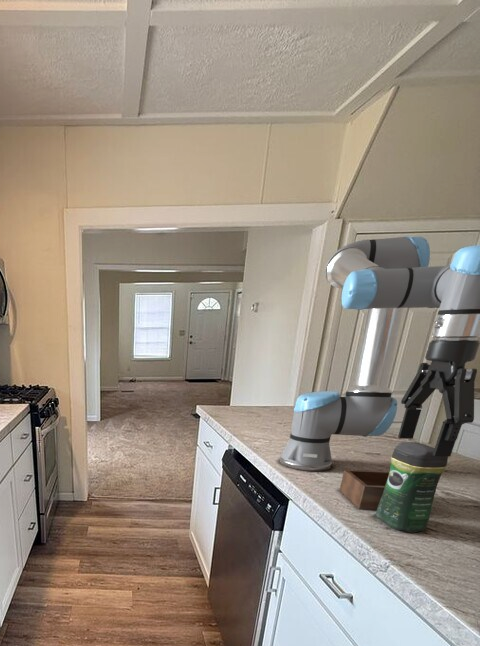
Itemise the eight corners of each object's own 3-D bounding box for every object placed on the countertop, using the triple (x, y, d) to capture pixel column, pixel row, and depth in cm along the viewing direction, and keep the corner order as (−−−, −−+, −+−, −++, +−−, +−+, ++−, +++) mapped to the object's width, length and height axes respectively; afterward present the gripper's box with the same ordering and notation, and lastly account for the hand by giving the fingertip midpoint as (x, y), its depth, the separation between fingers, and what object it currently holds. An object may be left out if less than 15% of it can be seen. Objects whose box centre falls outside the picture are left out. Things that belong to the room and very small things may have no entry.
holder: (339, 490, 111) (344, 469, 109) (399, 493, 109) (405, 472, 106) (359, 509, 99) (364, 486, 97) (426, 512, 97) (434, 489, 95)
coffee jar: (432, 533, 87) (461, 450, 80) (396, 533, 87) (421, 451, 80) (401, 514, 96) (424, 439, 89) (368, 515, 96) (388, 439, 89)
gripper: (400, 337, 89) (375, 431, 97) (477, 341, 66) (436, 464, 74) (438, 337, 87) (410, 432, 96) (530, 341, 65) (483, 465, 73)
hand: (421, 446), depth 85 cm, fingers open, 13 cm apart
